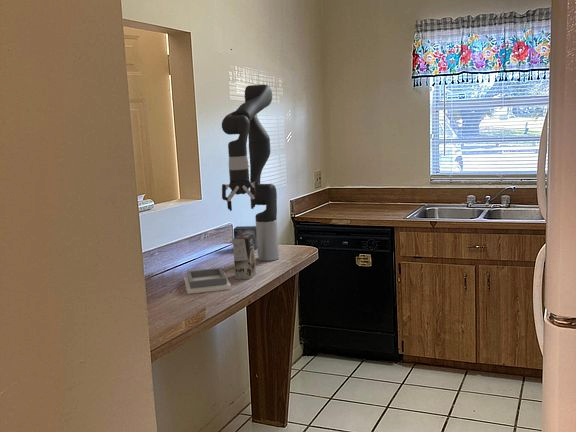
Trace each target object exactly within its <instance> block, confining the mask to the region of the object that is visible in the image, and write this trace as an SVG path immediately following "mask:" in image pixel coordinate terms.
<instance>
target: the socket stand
mask: <svg viewBox="0 0 576 432" xmlns="http://www.w3.org/2000/svg"><path fill="white" fill-rule="evenodd" d="M186 273H187V276H184V277H183V279H184V285H185V289H186V294H187V295H189V294H190V295H191V294H198V293H208V292H217V291H224V290H231V289H232V284H231V282H230V281H229V279H228V277H227V273H226V272H224V270H223V268H222V267H216V268H206V269H199V270H198V269H197V270H196V269H195V270H187V271H186Z"/></svg>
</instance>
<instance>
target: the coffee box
mask: <svg viewBox="0 0 576 432" xmlns="http://www.w3.org/2000/svg"><path fill="white" fill-rule="evenodd" d="M232 248H233V262H234V263H233V264H234V277H235V280H236V279H237V280H238V279H239V280H250V279H252V278H253V277H254V276H255V275H256V274H257V268H256V266H257V265H256V254H255V251H256V250H254V236H253V234H246V235H238V236H237V237H235V238H234V237H233V238H232Z"/></svg>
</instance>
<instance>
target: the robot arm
mask: <svg viewBox="0 0 576 432" xmlns="http://www.w3.org/2000/svg"><path fill="white" fill-rule="evenodd" d="M272 101H273V92H272V88H271V87H270V86H269V84H254V85H253V84H252V85H247V86H246V87H245V89H244V102H243V103H241V104H240V105H239V106H238V108H237V109H236V110H235V111H232V112H230V113H228V114H227V115H225V117H224V118H223V119H222V121H221V129H222V131H223V132H224V134H226V135H230V136H231V135H238V138H237V139H235V140H231V141H230V142H228V144H227V149H228V150H227V151H228V173H229V175H228V176H229V184H224V183H222V184H221V199H222V200H223V201H226V203H227V210H229V211H230V212H232V211H233V208H232V207H233V206H232V205H233V204H232V199H233V197H234V196H235V195H247V196H249V197H250V209H251V210H254V208H255V207H256V206H265V209H264V210H263V211H261V212H258V213H256V214H255V216H254V217H255V218H254V219H255V226H256V233H257V249H256V250H257V261H261V262H262V261H263V262H269V261H270V262H271V261H275V260H278V259H279V258H280V253H279V237H278V236H279V234H278V220H277V216H278V215H277V214H278V198H277V197H278V194H277V188H276V185H275V184H273V183H261V176H262V172H263V170H264V167H265V165H266V164H267V162H268V160H269V158H270V155H271V140H270V135H269V133H268V132H267V130H266V129H265V127H264V126H263V125H262V123H261V122H260V119H259V118H258V115H257V114H258V113H260V112H261V111H262V110H264V109H266V108H267V107H268V106H270V104H271V103H272ZM247 144H248V149H247ZM247 150H248V152H247ZM248 153H249V158H248ZM248 159H249V160H248ZM228 189H230V190H231V191H230V192H229V193H228V196H227V191H228Z"/></svg>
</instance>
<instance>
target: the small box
mask: <svg viewBox="0 0 576 432" xmlns="http://www.w3.org/2000/svg"><path fill="white" fill-rule="evenodd" d="M232 230H233V239H234V238H235V237H237V236H238V235H246V234H253V236H254V251H256V250H258V249H257V233H256V225H249V226H248V225H247V226H246V225H244V226H241V225H240V226H235V227H234V228H233V229H232Z"/></svg>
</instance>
